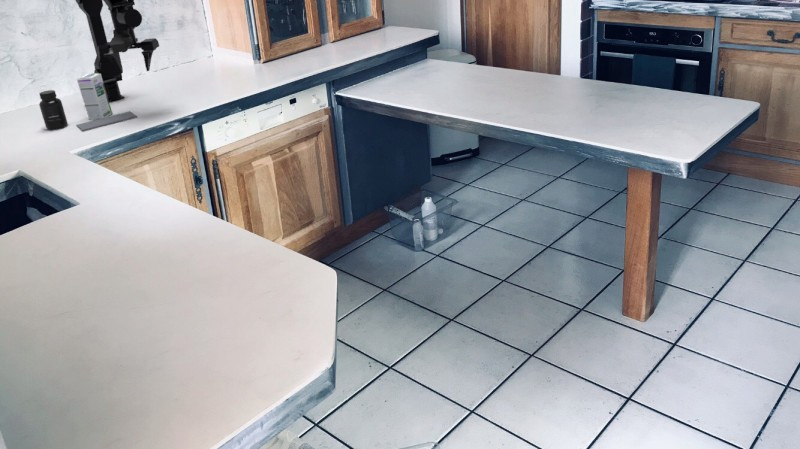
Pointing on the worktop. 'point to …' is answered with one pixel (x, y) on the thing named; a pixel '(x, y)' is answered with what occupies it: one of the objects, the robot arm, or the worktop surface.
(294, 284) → the worktop surface
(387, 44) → the worktop surface
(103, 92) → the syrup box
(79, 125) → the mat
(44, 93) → the supplement bottle
